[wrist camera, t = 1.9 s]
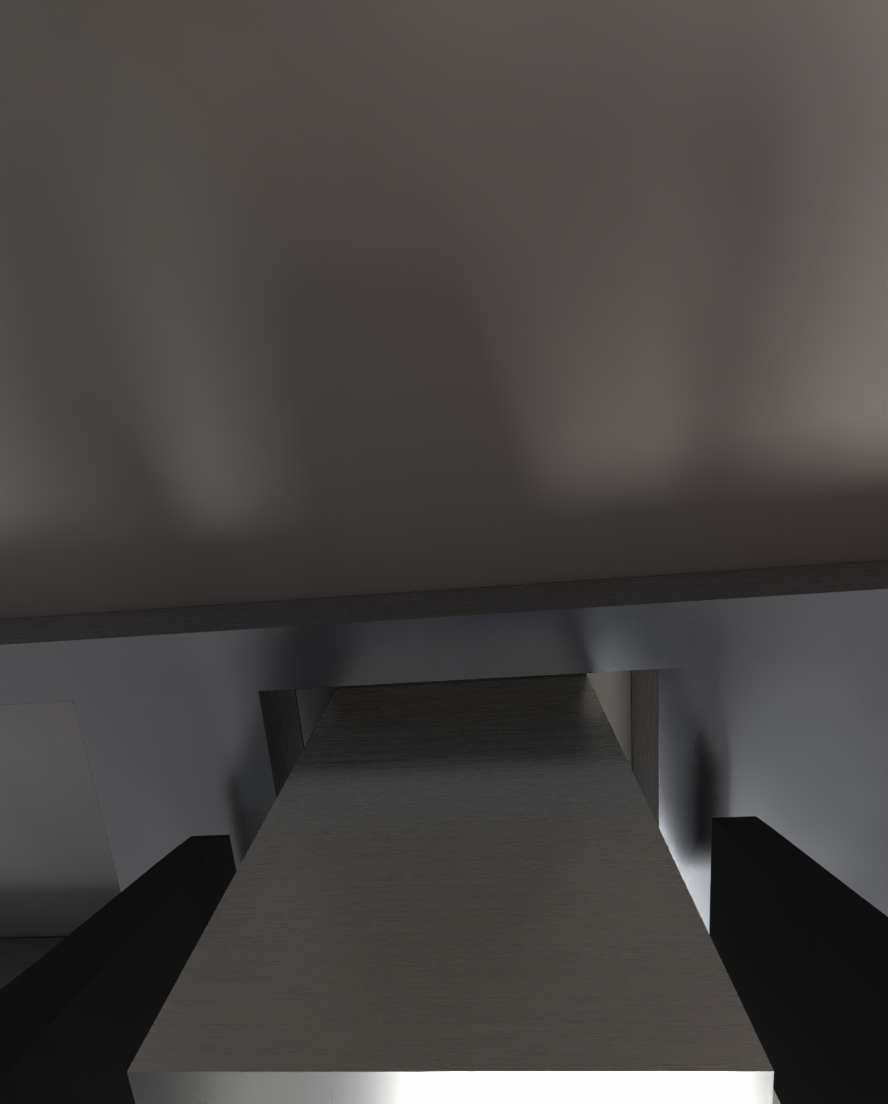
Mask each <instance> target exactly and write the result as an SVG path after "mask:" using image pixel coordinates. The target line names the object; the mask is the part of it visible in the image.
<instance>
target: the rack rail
mask: <svg viewBox="0 0 888 1104" xmlns="http://www.w3.org/2000/svg"><path fill="white" fill-rule="evenodd" d="M612 671H631V693H632V772H633V774H634V776H635V778H636V781H637V783H638V785H639V787H640V789H641V791H642V793H643V795H644V797H645V800H646V802H647V804H648V806H649V808H650V810H651V812H652V814H653V816H654V819H655V821H656V823H657V825H658V827H659V829H660V831H661V833H662V836H663V838H664V840H665V842H666V844H667V846H668V848H669V850H670V852H671V855H672V857H673V859H674V861H675V863H676V865H677V867H678V869H679V871H680V874H681V876H682V878H683V880H684V882H685V884H686V886H687V888H688V891H689V893H690V895H691V897H692V899H693V901H694V903H695V905H696V907H697V910H698V912H699V914H700V916H701V918H702V920H703V922H704V924H705V926H706V929H707V931H708V933H709V924H710V882H711V840H712V818H717V817H745V816H756V817H758V818H759V819H761V820H762V821H763V822H765V823H766V824H767V825H769V826H770V827H771V828H773V829H774V830H775V831H777V832H778V833H779V834H781V835H782V836H783V837H785V838H786V839H787V840H789V841H790V842H791V843H792V844H794V845H795V846H796V847H798V848H799V849H800V850H801V851H803V852H804V853H805V854H807V855H808V856H809V857H811V858H812V859H813V860H814V861H816V862H817V863H818V864H820V865H821V866H822V867H823V868H825V869H826V870H827V871H829V872H830V873H831V874H833V875H834V876H835V877H836V878H838V879H839V880H840V881H842V882H843V883H844V884H846V885H847V886H848V887H849V888H851V889H852V890H853V891H855V892H856V893H857V894H859V895H860V896H861V897H862V898H864V899H865V900H866V901H868V902H869V903H870V904H872V905H873V906H874V907H876V908H877V909H878V910H880V911H881V912H882V913H884V914H885V915H886V916H888V561H873V562H858V563H843V564H828V565H813V566H798V567H783V568H768V569H753V570H738V571H723V572H708V573H693V574H678V575H664V576H649V577H634V578H619V579H604V580H589V581H574V582H559V583H544V584H529V585H514V586H499V587H484V588H469V589H454V590H439V591H424V592H409V593H394V594H379V595H364V596H349V597H334V598H319V599H304V600H289V601H274V602H259V603H244V604H229V605H214V606H199V607H184V608H169V609H154V610H139V611H124V612H109V613H94V614H79V615H64V616H49V617H34V618H19V619H4V620H0V705H10V704H28V703H46V702H65V701H73V702H74V706H75V710H76V714H77V718H78V723H79V727H80V731H81V735H82V739H83V743H84V747H85V751H86V755H87V759H88V763H89V767H90V771H91V775H92V779H93V783H94V787H95V791H96V795H97V799H98V803H99V807H100V811H101V815H102V819H103V823H104V827H105V831H106V835H107V839H108V843H109V847H110V851H111V855H112V859H113V863H114V867H115V871H116V875H117V879H118V883H119V887H120V891H121V892H122V891H123V890H124V889H126V888H127V887H128V886H129V885H131V884H132V883H133V882H134V881H135V880H137V879H138V878H139V877H140V876H141V875H143V874H144V873H145V872H146V871H148V870H149V869H150V868H151V867H152V866H154V865H155V864H156V863H157V862H159V861H160V860H161V859H162V858H164V857H165V856H166V855H167V854H168V853H170V852H171V851H172V850H174V849H175V848H176V847H177V846H179V845H180V844H181V843H183V842H184V841H185V840H187V839H188V838H189V837H191V836H204V835H230V840H231V845H232V850H233V855H234V861H235V866H236V871H237V870H238V868H239V866H240V864H241V862H242V861H243V859H244V857H245V855H246V853H247V851H248V850H249V848H250V846H251V844H252V842H253V841H254V839H255V837H256V835H257V833H258V831H259V830H260V828H261V826H262V824H263V822H264V820H265V819H266V817H267V815H268V813H269V811H270V809H271V808H272V806H273V804H274V802H275V800H276V799H277V797H278V795H279V793H280V791H281V789H282V788H283V786H284V784H285V782H286V780H287V778H288V777H289V775H290V773H291V771H292V769H293V767H294V766H295V764H296V762H297V760H298V758H299V757H300V755H301V753H302V751H303V749H304V747H303V741H302V734H301V728H300V721H299V715H298V709H297V702H296V696H295V689H302V688H320V687H338V686H357V685H375V684H393V683H411V682H430V681H448V680H466V679H484V678H503V677H521V676H539V675H558V674H576V673H594V672H612ZM65 938H66V937H62V938H17V939H0V989H2V988H3V987H4V986H6V985H7V984H8V983H9V982H11V981H12V980H13V979H15V978H16V977H17V976H18V975H20V974H21V973H22V972H24V971H25V970H26V969H27V968H29V967H30V966H31V965H33V964H34V963H35V962H36V961H38V960H39V959H40V958H41V957H43V956H44V955H45V954H46V953H48V952H49V951H50V950H51V949H52V948H54V947H55V946H56V945H57V944H59V943H60V942H61V941H62V940H64V939H65Z"/></svg>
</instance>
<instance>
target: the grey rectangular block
mask: <svg viewBox="0 0 888 1104" xmlns="http://www.w3.org/2000/svg"><path fill="white" fill-rule="evenodd" d="M127 1074H128V1078H129V1082H130V1086H131V1089H132V1093H133V1097H134V1100H135V1104H772V1099H773V1081H774V1070H773V1068H772V1066H771V1064H770V1062H769V1060H768V1058H767V1055H766V1053H765V1051H764V1049H763V1047H762V1045H761V1043H760V1041H759V1039H758V1036H757V1034H756V1032H755V1030H754V1028H753V1026H752V1024H751V1022H750V1019H749V1017H748V1015H747V1013H746V1011H745V1009H744V1007H743V1005H742V1003H741V1000H740V998H739V996H738V994H737V992H736V990H735V988H734V986H733V984H732V981H731V979H730V977H729V975H728V973H727V971H726V969H725V967H724V965H723V962H722V960H721V958H720V956H719V954H718V952H717V950H716V948H715V945H714V943H713V941H712V939H711V937H710V935H709V933H708V931H707V929H706V926H705V924H704V922H703V920H702V918H701V916H700V914H699V912H698V910H697V907H696V905H695V903H694V901H693V899H692V897H691V895H690V893H689V891H688V888H687V886H686V884H685V882H684V880H683V878H682V876H681V874H680V871H679V869H678V867H677V865H676V863H675V861H674V859H673V857H672V855H671V852H670V850H669V848H668V846H667V844H666V842H665V840H664V838H663V836H662V833H661V831H660V829H659V827H658V825H657V823H656V821H655V819H654V816H653V814H652V812H651V810H650V808H649V806H648V804H647V802H646V800H645V797H644V795H643V793H642V791H641V789H640V787H639V785H638V783H637V781H636V778H635V776H634V774H633V772H632V770H631V768H630V766H629V764H628V762H627V759H626V757H625V755H624V753H623V751H622V749H621V747H620V745H619V742H618V740H617V738H616V736H615V734H614V732H613V730H612V728H611V726H610V723H609V721H608V719H607V717H606V715H605V713H604V711H603V709H602V707H601V704H600V702H599V700H598V698H597V696H596V694H595V692H594V690H593V688H592V685H591V683H590V681H589V679H588V677H587V676H574V677H556V678H538V679H519V680H501V681H483V682H464V683H446V684H428V685H409V686H391V687H373V688H354V689H336V691H335V693H334V694H333V696H332V698H331V700H330V702H329V704H328V705H327V707H326V709H325V711H324V713H323V714H322V716H321V718H320V720H319V722H318V724H317V725H316V727H315V729H314V731H313V733H312V735H311V736H310V738H309V740H308V742H307V744H306V746H305V747H304V749H303V751H302V753H301V755H300V757H299V758H298V760H297V762H296V764H295V766H294V767H293V769H292V771H291V773H290V775H289V777H288V778H287V780H286V782H285V784H284V786H283V788H282V789H281V791H280V793H279V795H278V797H277V799H276V800H275V802H274V804H273V806H272V808H271V809H270V811H269V813H268V815H267V817H266V819H265V820H264V822H263V824H262V826H261V828H260V830H259V831H258V833H257V835H256V837H255V839H254V841H253V842H252V844H251V846H250V848H249V850H248V851H247V853H246V855H245V857H244V859H243V861H242V862H241V864H240V866H239V868H238V870H237V872H236V873H235V875H234V877H233V879H232V881H231V883H230V884H229V886H228V888H227V890H226V892H225V894H224V895H223V897H222V899H221V901H220V903H219V904H218V906H217V908H216V910H215V912H214V914H213V915H212V917H211V919H210V921H209V923H208V925H207V926H206V928H205V930H204V932H203V934H202V936H201V937H200V939H199V941H198V943H197V945H196V946H195V948H194V950H193V952H192V954H191V956H190V957H189V959H188V961H187V963H186V965H185V967H184V968H183V970H182V972H181V974H180V976H179V978H178V979H177V981H176V983H175V985H174V987H173V989H172V990H171V992H170V994H169V996H168V998H167V999H166V1001H165V1003H164V1005H163V1007H162V1009H161V1010H160V1012H159V1014H158V1016H157V1018H156V1020H155V1021H154V1023H153V1025H152V1027H151V1029H150V1031H149V1032H148V1034H147V1036H146V1038H145V1040H144V1041H143V1043H142V1045H141V1047H140V1049H139V1051H138V1052H137V1054H136V1056H135V1058H134V1060H133V1062H132V1063H131V1065H130V1067H129V1069H128V1071H127Z"/></svg>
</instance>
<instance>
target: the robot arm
mask: <svg viewBox="0 0 888 1104" xmlns="http://www.w3.org/2000/svg"><path fill="white" fill-rule="evenodd" d="M236 872H237V871H236V866H235V861H234V855H233V850H232V845H231V840H230V835H204V836H191V837H189V838H188V839H187V840H185V841H184V842H183V843H181V844H180V845H179V846H177V847H176V848H175V849H174V850H172V851H171V852H170V853H168V854H167V855H166V856H165V857H164V858H162V859H161V860H160V861H159V862H157V863H156V864H155V865H154V866H152V867H151V868H150V869H149V870H148V871H146V872H145V873H144V874H143V875H141V876H140V877H139V878H138V879H137V880H135V881H134V882H133V883H132V884H131V885H129V886H128V887H127V888H126V889H124V890H123V891H122V892H121V893H120V894H118V895H117V896H116V897H115V898H114V899H112V900H111V901H110V902H109V903H108V904H106V905H105V906H104V907H103V908H101V909H100V910H99V911H98V912H97V913H95V914H94V915H93V916H92V917H90V918H89V919H88V920H87V921H86V922H84V923H83V924H82V925H81V926H79V927H78V928H77V929H76V930H75V931H73V932H72V933H71V934H70V935H68V936H67V937H66V938H65V939H64V940H62V941H61V942H60V943H59V944H57V945H56V946H55V947H54V948H52V949H51V950H50V951H49V952H48V953H46V954H45V955H44V956H43V957H41V958H40V959H39V960H38V961H36V962H35V963H34V964H33V965H31V966H30V967H29V968H27V969H26V970H25V971H24V972H22V973H21V974H20V975H18V976H17V977H16V978H15V979H13V980H12V981H11V982H9V983H8V984H7V985H6V986H4V987H3V988H2V989H0V1104H135V1100H134V1097H133V1093H132V1089H131V1086H130V1082H129V1078H128V1074H127V1071H128V1069H129V1067H130V1065H131V1063H132V1062H133V1060H134V1058H135V1056H136V1054H137V1052H138V1051H139V1049H140V1047H141V1045H142V1043H143V1041H144V1040H145V1038H146V1036H147V1034H148V1032H149V1031H150V1029H151V1027H152V1025H153V1023H154V1021H155V1020H156V1018H157V1016H158V1014H159V1012H160V1010H161V1009H162V1007H163V1005H164V1003H165V1001H166V999H167V998H168V996H169V994H170V992H171V990H172V989H173V987H174V985H175V983H176V981H177V979H178V978H179V976H180V974H181V972H182V970H183V968H184V967H185V965H186V963H187V961H188V959H189V957H190V956H191V954H192V952H193V950H194V948H195V946H196V945H197V943H198V941H199V939H200V937H201V936H202V934H203V932H204V930H205V928H206V926H207V925H208V923H209V921H210V919H211V917H212V915H213V914H214V912H215V910H216V908H217V906H218V904H219V903H220V901H221V899H222V897H223V895H224V894H225V892H226V890H227V888H228V886H229V884H230V883H231V881H232V879H233V877H234V875H235V873H236ZM709 935H710V937H711V939H712V941H713V943H714V945H715V948H716V950H717V952H718V954H719V956H720V958H721V960H722V962H723V965H724V967H725V969H726V971H727V973H728V975H729V977H730V979H731V981H732V984H733V986H734V988H735V990H736V992H737V994H738V996H739V998H740V1000H741V1003H742V1005H743V1007H744V1009H745V1011H746V1013H747V1015H748V1017H749V1019H750V1022H751V1024H752V1026H753V1028H754V1030H755V1032H756V1034H757V1036H758V1039H759V1041H760V1043H761V1045H762V1047H763V1049H764V1051H765V1053H766V1055H767V1058H768V1060H769V1062H770V1064H771V1066H772V1068H773V1070H774V1081H773V1088H774V1090H775V1093H776V1095H777V1097H778V1099H779V1101H780V1103H781V1104H888V916H886V915H885V914H884V913H882V912H881V911H880V910H878V909H877V908H876V907H874V906H873V905H872V904H870V903H869V902H868V901H866V900H865V899H864V898H862V897H861V896H860V895H859V894H857V893H856V892H855V891H853V890H852V889H851V888H849V887H848V886H847V885H846V884H844V883H843V882H842V881H840V880H839V879H838V878H836V877H835V876H834V875H833V874H831V873H830V872H829V871H827V870H826V869H825V868H823V867H822V866H821V865H820V864H818V863H817V862H816V861H814V860H813V859H812V858H811V857H809V856H808V855H807V854H805V853H804V852H803V851H801V850H800V849H799V848H798V847H796V846H795V845H794V844H792V843H791V842H790V841H789V840H787V839H786V838H785V837H783V836H782V835H781V834H779V833H778V832H777V831H775V830H774V829H773V828H771V827H770V826H769V825H767V824H766V823H765V822H763V821H762V820H761V819H759V818H758V817H756V816H745V817H717V818H712V840H711V882H710V924H709Z"/></svg>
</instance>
